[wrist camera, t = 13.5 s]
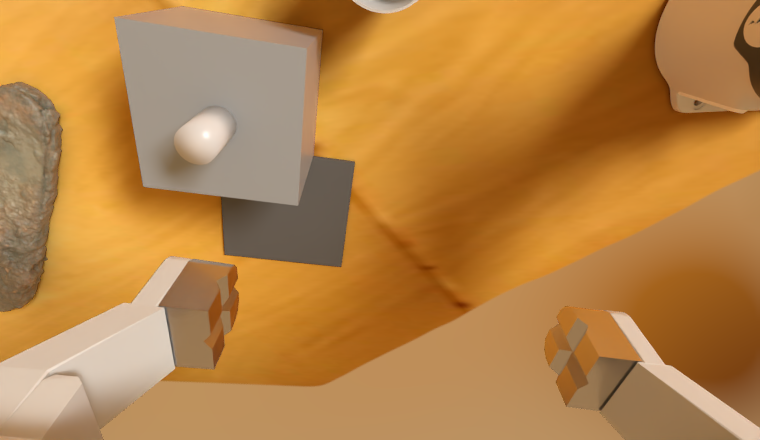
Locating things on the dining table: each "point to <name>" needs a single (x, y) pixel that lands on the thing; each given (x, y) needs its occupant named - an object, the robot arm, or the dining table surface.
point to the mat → (294, 219)
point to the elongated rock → (25, 188)
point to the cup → (385, 5)
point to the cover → (221, 102)
